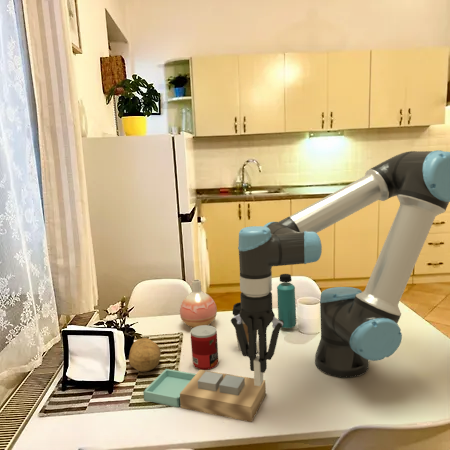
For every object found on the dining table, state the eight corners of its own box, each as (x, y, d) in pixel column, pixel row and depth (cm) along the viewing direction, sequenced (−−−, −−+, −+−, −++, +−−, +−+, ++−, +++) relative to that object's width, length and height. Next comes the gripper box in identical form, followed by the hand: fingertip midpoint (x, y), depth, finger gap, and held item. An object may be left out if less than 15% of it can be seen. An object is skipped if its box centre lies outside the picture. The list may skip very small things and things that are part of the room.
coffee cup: (252, 356, 130) (250, 311, 127) (229, 351, 134) (227, 307, 131) (264, 345, 137) (262, 302, 134) (242, 340, 141) (240, 298, 138)
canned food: (215, 371, 122) (213, 336, 120) (189, 369, 124) (187, 335, 122) (221, 358, 130) (219, 325, 128) (196, 357, 131) (194, 324, 129)
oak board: (265, 394, 110) (265, 380, 109) (251, 422, 99) (251, 407, 98) (200, 382, 117) (199, 369, 116) (180, 407, 106) (179, 393, 105)
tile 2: (244, 384, 107) (244, 377, 107) (238, 395, 103) (237, 388, 102) (226, 381, 109) (226, 374, 109) (219, 392, 105) (219, 384, 104)
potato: (157, 353, 135) (155, 330, 134) (166, 374, 122) (164, 349, 121) (126, 360, 132) (124, 336, 130) (132, 382, 119) (129, 356, 117)
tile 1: (223, 381, 110) (222, 374, 109) (215, 391, 105) (215, 384, 105) (206, 378, 112) (205, 371, 111) (198, 388, 107) (197, 381, 107)
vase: (180, 320, 161) (177, 276, 158) (215, 316, 162) (213, 273, 159) (181, 335, 148) (177, 288, 144) (219, 331, 149) (216, 284, 146)
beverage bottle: (298, 332, 145) (296, 277, 142) (279, 332, 145) (277, 278, 142) (295, 324, 152) (293, 271, 148) (277, 325, 152) (275, 272, 148)
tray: (199, 382, 117) (198, 374, 116) (179, 407, 106) (178, 398, 106) (166, 376, 121) (165, 368, 120) (144, 400, 110) (143, 391, 109)
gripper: (286, 289, 100) (288, 379, 104) (235, 284, 104) (239, 371, 109) (278, 299, 93) (280, 396, 97) (224, 294, 98) (228, 386, 102)
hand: (258, 382), depth 103 cm, fingers closed
